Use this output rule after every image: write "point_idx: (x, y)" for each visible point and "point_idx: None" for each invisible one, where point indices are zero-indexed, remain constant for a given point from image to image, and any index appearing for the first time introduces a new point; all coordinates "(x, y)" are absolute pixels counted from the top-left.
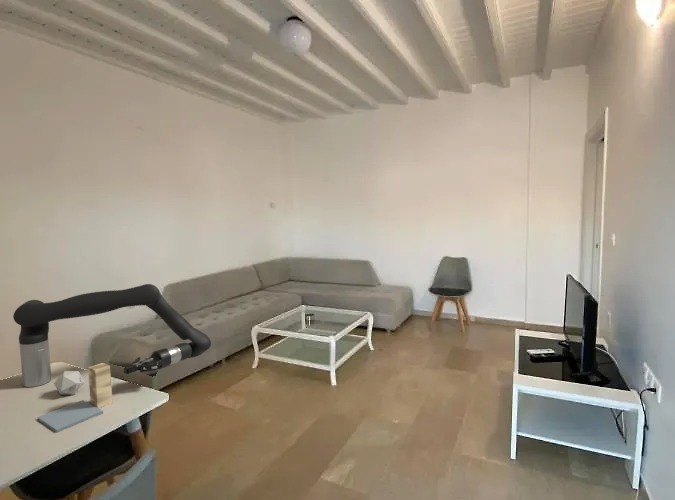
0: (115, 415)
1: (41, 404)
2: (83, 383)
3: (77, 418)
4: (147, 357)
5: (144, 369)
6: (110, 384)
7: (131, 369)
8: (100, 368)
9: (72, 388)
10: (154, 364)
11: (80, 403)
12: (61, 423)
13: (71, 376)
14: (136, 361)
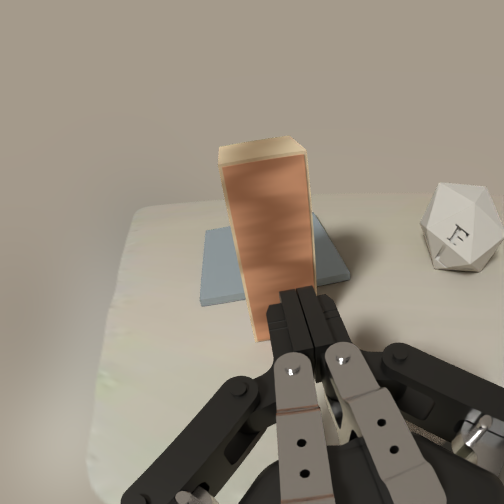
0: (148, 325)
1: (404, 222)
2: (463, 261)
3: (220, 255)
4: (420, 495)
5: (250, 444)
6: (239, 265)
7: (269, 328)
8: (224, 151)
9: (427, 238)
10: (130, 487)
11: (325, 266)
12: (228, 235)
13: (446, 199)
14: (416, 379)
